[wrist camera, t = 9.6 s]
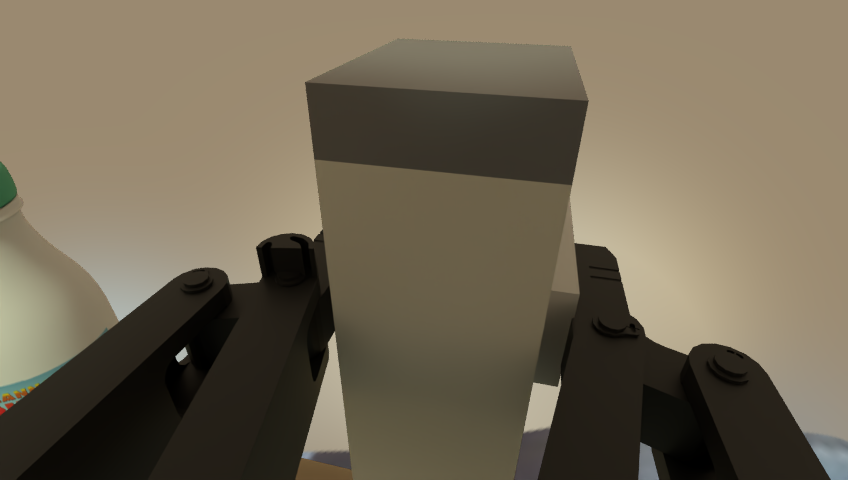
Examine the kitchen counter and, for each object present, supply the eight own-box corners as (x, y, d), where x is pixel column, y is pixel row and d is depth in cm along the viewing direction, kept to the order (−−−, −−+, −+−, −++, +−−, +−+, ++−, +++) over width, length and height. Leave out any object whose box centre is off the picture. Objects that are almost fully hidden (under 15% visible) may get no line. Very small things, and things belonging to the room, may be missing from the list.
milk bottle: (41, 432, 31) (-144, 156, 21) (166, 393, 34) (59, 134, 24) (12, 542, 25) (-267, 232, 15) (166, 484, 28) (24, 191, 18)
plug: (489, 604, 14) (588, 100, 6) (363, 569, 14) (305, 82, 7) (502, 455, 18) (570, 46, 10) (404, 434, 19) (398, 38, 11)
